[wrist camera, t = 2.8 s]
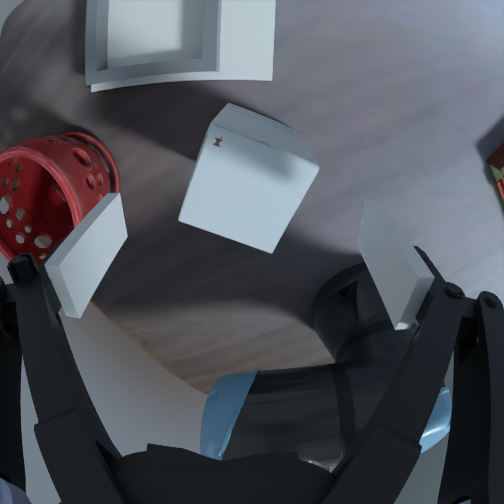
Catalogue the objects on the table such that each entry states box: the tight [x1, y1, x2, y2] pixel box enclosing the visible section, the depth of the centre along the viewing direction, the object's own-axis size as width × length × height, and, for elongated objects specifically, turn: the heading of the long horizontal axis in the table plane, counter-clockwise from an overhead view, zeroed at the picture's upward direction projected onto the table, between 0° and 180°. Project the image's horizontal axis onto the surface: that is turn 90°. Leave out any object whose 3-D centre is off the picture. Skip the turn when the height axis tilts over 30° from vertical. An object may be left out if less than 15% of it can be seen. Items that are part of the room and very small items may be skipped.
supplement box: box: [178, 103, 319, 253], centre depth 24 cm, size 7×7×13 cm
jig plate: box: [85, 0, 275, 92], centre depth 20 cm, size 14×18×4 cm
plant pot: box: [0, 132, 120, 266], centre depth 26 cm, size 13×13×12 cm
